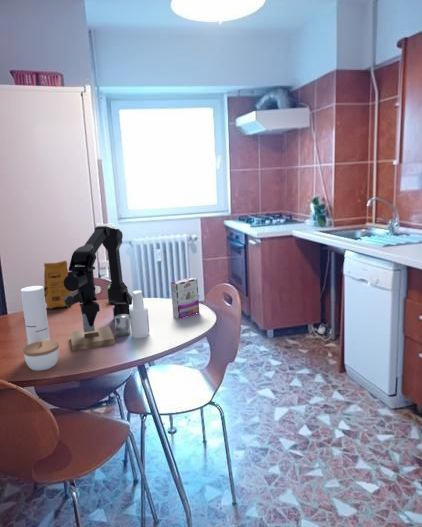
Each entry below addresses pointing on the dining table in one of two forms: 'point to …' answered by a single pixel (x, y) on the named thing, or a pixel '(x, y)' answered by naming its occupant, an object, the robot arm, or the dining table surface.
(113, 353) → the dining table surface
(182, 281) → the candy bar box
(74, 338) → the bore block
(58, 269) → the coffee package
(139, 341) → the dining table surface
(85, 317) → the square bit
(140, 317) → the spray bottle
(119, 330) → the clear glass jar
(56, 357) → the lidded jar
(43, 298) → the cylindrical container
